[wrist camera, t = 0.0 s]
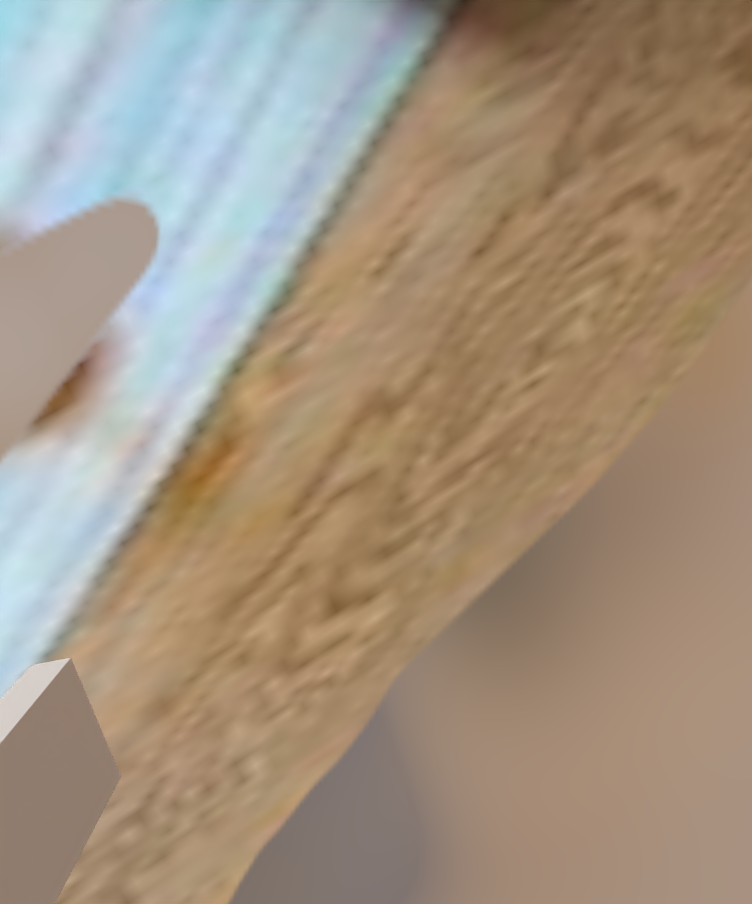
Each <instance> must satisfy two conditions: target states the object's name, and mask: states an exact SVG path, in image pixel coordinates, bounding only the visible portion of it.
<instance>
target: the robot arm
mask: <svg viewBox="0 0 752 904" xmlns="http://www.w3.org/2000/svg"><path fill="white" fill-rule="evenodd" d="M120 778H121V775H120V773H119V770H118V768H117V766H116V763H115V761H114V759H113V756H112V754H111V752H110V749H109V747H108V744H107V742H106V740H105V737H104V735H103V733H102V730H101V728H100V726H99V723H98V721H97V718H96V716H95V714H94V711H93V709H92V707H91V704H90V702H89V700H88V697H87V695H86V692H85V690H84V688H83V685H82V683H81V681H80V678H79V676H78V674H77V671H76V669H75V666H74V664H73V662H72V659H71V658H67V659H62V660H57V661H51V662H46V663H41V664H36V665H31V666H30V667H29V669H28V670H27V671H26V672H25V673H24V674H23V675H22V676H21V677H20V678H19V680H18V681H17V682H16V683H15V684H14V685H13V686H12V687H11V688H10V689H9V691H8V692H7V693H6V694H5V695H4V696H3V697H2V698H1V699H0V904H55V902H56V900H57V898H58V896H59V894H60V892H61V891H62V889H63V887H64V885H65V883H66V881H67V879H68V877H69V875H70V873H71V871H72V869H73V868H74V866H75V864H76V862H77V860H78V858H79V856H80V854H81V852H82V850H83V848H84V846H85V845H86V843H87V841H88V839H89V837H90V835H91V833H92V831H93V829H94V827H95V825H96V824H97V822H98V820H99V818H100V816H101V814H102V812H103V810H104V808H105V806H106V804H107V802H108V801H109V799H110V797H111V795H112V793H113V791H114V789H115V787H116V785H117V783H118V781H119V780H120Z"/></svg>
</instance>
